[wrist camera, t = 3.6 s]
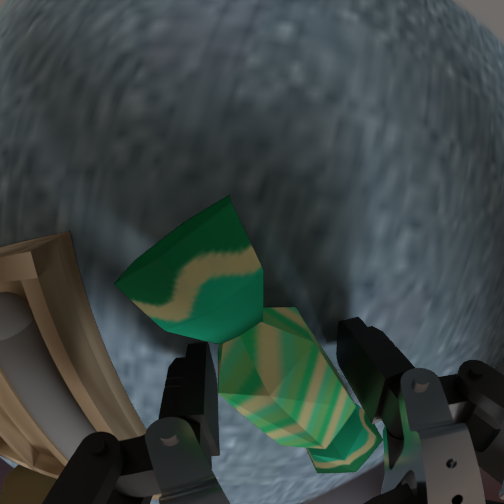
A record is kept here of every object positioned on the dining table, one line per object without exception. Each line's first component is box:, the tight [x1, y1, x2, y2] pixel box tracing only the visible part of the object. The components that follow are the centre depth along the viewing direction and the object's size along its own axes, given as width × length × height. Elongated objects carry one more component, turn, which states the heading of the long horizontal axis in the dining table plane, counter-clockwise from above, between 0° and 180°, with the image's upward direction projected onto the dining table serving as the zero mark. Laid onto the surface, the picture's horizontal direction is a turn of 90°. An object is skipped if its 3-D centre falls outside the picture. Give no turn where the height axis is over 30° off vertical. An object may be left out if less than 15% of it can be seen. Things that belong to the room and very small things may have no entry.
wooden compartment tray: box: [0, 231, 161, 500], centre depth 9 cm, size 16×15×2 cm
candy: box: [114, 195, 383, 473], centre depth 9 cm, size 12×3×4 cm, turn 32°
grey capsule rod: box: [0, 292, 97, 460], centre depth 8 cm, size 2×12×2 cm, turn 6°
